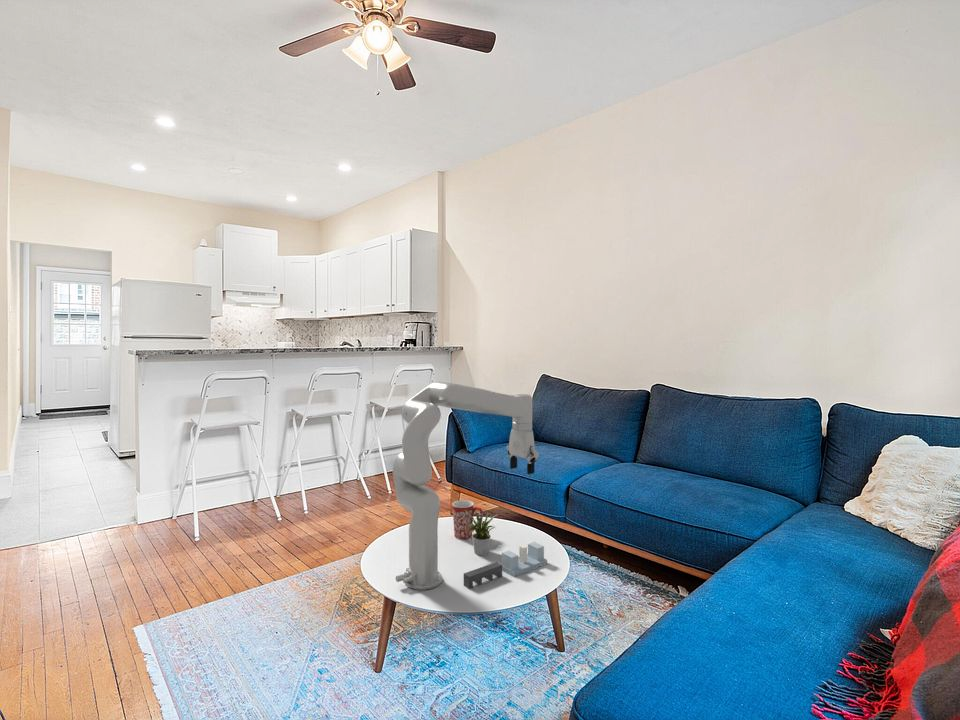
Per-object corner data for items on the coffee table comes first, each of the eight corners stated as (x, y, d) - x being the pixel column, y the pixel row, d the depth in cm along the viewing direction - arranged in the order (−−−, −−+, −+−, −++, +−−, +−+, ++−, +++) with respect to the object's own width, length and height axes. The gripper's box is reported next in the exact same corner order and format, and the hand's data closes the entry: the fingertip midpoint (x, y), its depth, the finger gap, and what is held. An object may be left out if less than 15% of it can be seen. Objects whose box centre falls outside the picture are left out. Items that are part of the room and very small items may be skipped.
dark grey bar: (468, 589, 162) (468, 576, 162) (463, 585, 164) (463, 573, 164) (502, 576, 170) (502, 565, 170) (496, 573, 173) (496, 561, 172)
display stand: (513, 576, 170) (513, 556, 170) (498, 568, 176) (498, 548, 176) (547, 563, 180) (547, 544, 179) (531, 556, 186) (531, 537, 186)
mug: (450, 540, 201) (450, 507, 200) (453, 531, 210) (453, 499, 209) (482, 540, 200) (482, 507, 200) (483, 531, 209) (483, 500, 209)
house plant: (452, 555, 187) (452, 512, 186) (470, 541, 199) (470, 501, 198) (486, 563, 180) (486, 518, 179) (502, 549, 192) (502, 507, 192)
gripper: (500, 424, 195) (500, 467, 196) (530, 431, 182) (530, 477, 182) (514, 422, 200) (514, 464, 201) (545, 428, 186) (545, 474, 187)
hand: (522, 470), depth 192 cm, fingers open, 9 cm apart
